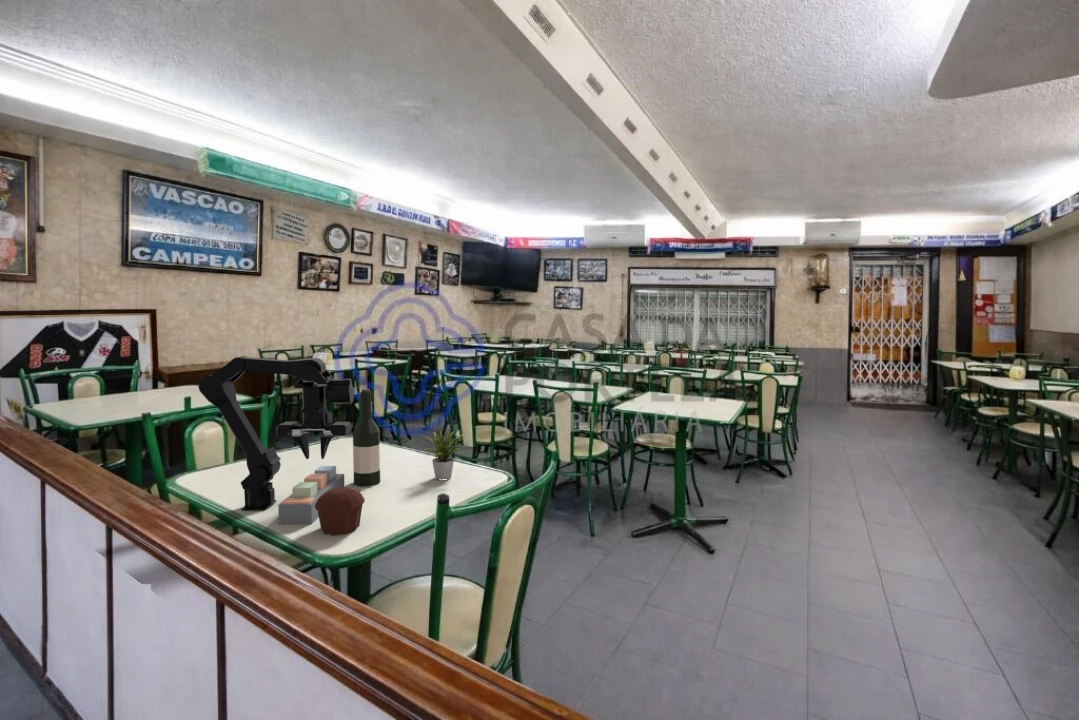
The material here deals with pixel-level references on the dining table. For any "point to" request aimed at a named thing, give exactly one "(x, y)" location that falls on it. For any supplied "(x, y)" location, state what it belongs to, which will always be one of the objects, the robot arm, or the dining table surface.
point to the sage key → (305, 490)
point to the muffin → (339, 510)
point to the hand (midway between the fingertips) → (315, 458)
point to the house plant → (443, 455)
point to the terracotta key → (317, 480)
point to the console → (305, 505)
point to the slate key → (327, 471)
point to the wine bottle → (366, 445)
